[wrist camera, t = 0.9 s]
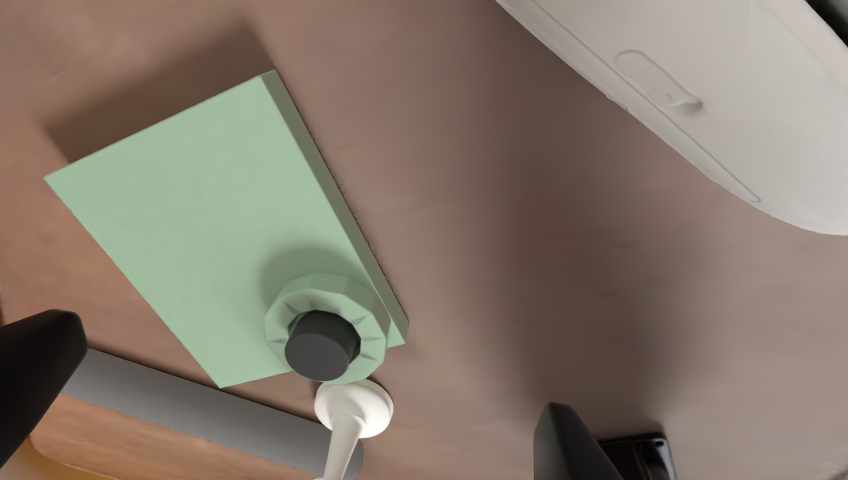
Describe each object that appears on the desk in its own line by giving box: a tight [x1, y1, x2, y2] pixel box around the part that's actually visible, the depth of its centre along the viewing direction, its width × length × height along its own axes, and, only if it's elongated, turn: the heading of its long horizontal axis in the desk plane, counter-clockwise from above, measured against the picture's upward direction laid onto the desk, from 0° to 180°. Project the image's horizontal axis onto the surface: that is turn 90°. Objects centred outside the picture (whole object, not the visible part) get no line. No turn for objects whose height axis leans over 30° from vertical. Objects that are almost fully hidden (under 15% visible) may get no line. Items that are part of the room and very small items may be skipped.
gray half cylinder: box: [60, 349, 364, 480], centre depth 28 cm, size 4×20×2 cm, turn 70°
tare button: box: [284, 311, 356, 381], centre depth 21 cm, size 3×3×2 cm
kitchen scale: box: [43, 69, 409, 388], centre depth 21 cm, size 14×12×3 cm
